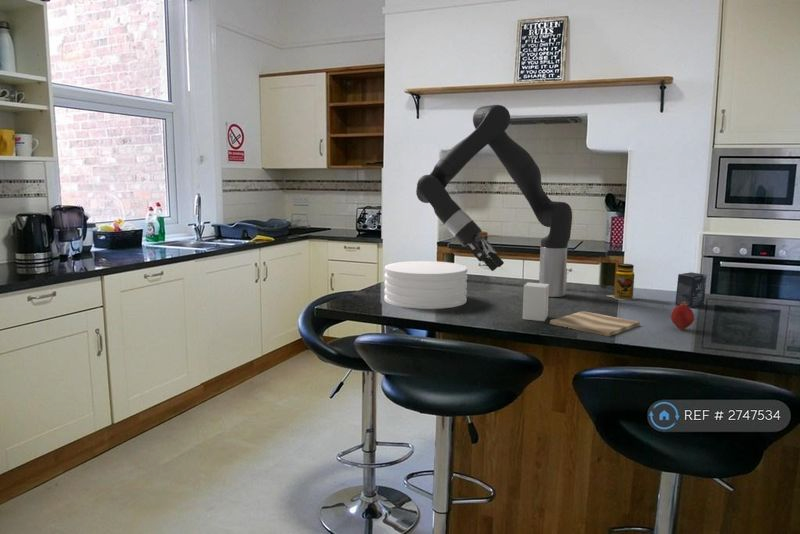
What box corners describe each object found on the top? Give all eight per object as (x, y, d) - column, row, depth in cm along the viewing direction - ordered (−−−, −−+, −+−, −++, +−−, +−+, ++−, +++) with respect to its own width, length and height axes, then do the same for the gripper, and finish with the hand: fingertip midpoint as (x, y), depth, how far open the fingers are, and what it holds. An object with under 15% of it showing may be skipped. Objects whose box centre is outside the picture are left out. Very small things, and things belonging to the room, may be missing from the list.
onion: (665, 327, 165) (667, 299, 164) (685, 326, 165) (687, 299, 164) (677, 332, 159) (679, 304, 158) (697, 332, 160) (699, 303, 158)
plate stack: (436, 313, 180) (437, 276, 178) (367, 301, 197) (367, 267, 195) (481, 298, 202) (482, 266, 200) (415, 289, 219) (416, 258, 217)
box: (691, 308, 189) (694, 276, 188) (674, 305, 194) (677, 273, 192) (704, 305, 194) (707, 274, 192) (688, 302, 198) (690, 271, 197)
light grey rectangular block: (526, 314, 179) (527, 282, 177) (547, 316, 176) (549, 284, 175) (522, 319, 173) (523, 285, 171) (544, 321, 170) (546, 287, 169)
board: (582, 314, 180) (582, 311, 180) (639, 325, 167) (639, 321, 167) (549, 323, 168) (549, 320, 167) (608, 336, 155) (609, 332, 154)
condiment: (622, 300, 200) (625, 266, 198) (605, 296, 208) (607, 262, 206) (639, 299, 203) (641, 265, 201) (621, 294, 211) (623, 261, 209)
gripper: (465, 221, 171) (502, 262, 169) (477, 218, 184) (512, 256, 182) (447, 238, 174) (484, 278, 171) (460, 234, 187) (494, 271, 185)
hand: (498, 267), depth 177 cm, fingers open, 8 cm apart
